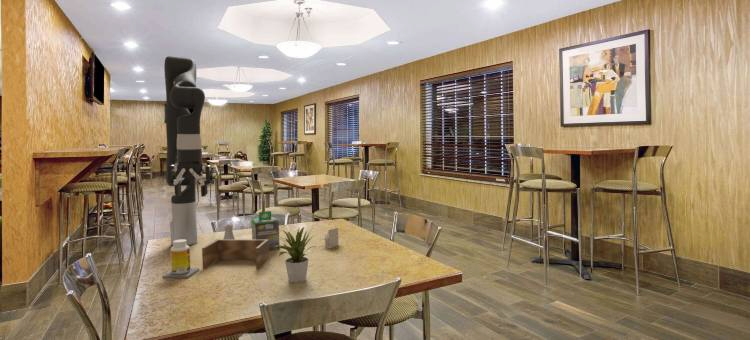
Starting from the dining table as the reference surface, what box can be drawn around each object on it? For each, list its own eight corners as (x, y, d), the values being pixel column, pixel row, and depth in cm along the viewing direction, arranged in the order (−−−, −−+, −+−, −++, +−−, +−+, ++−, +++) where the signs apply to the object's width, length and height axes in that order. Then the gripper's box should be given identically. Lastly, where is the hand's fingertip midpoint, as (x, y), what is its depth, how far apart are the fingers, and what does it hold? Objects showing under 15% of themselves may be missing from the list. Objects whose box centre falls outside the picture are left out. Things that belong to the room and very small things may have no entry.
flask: (233, 254, 162) (232, 227, 162) (215, 253, 164) (214, 227, 163) (242, 249, 169) (241, 223, 169) (225, 248, 171) (224, 223, 170)
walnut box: (202, 268, 144) (201, 248, 144) (217, 258, 156) (216, 239, 156) (259, 268, 143) (258, 248, 143) (269, 258, 155) (268, 239, 155)
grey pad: (162, 278, 135) (162, 276, 135) (175, 270, 143) (175, 268, 143) (188, 278, 135) (187, 276, 135) (199, 270, 143) (199, 268, 143)
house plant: (279, 271, 141) (278, 221, 140) (322, 271, 140) (321, 221, 139) (267, 286, 127) (266, 231, 125) (314, 286, 126) (313, 231, 125)
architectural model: (322, 247, 171) (322, 229, 171) (334, 243, 177) (333, 226, 176) (328, 248, 169) (328, 230, 169) (340, 245, 175) (340, 227, 174)
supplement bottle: (191, 273, 138) (189, 241, 137) (171, 275, 135) (170, 243, 134) (190, 268, 143) (188, 237, 142) (171, 270, 140) (169, 239, 139)
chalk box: (274, 244, 176) (273, 208, 175) (280, 249, 168) (279, 211, 167) (251, 247, 172) (250, 210, 171) (256, 252, 164) (254, 213, 163)
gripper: (215, 147, 147) (216, 194, 149) (174, 147, 148) (176, 194, 149) (205, 148, 139) (207, 198, 141) (162, 148, 140) (164, 197, 142)
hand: (191, 196), depth 145 cm, fingers open, 8 cm apart
